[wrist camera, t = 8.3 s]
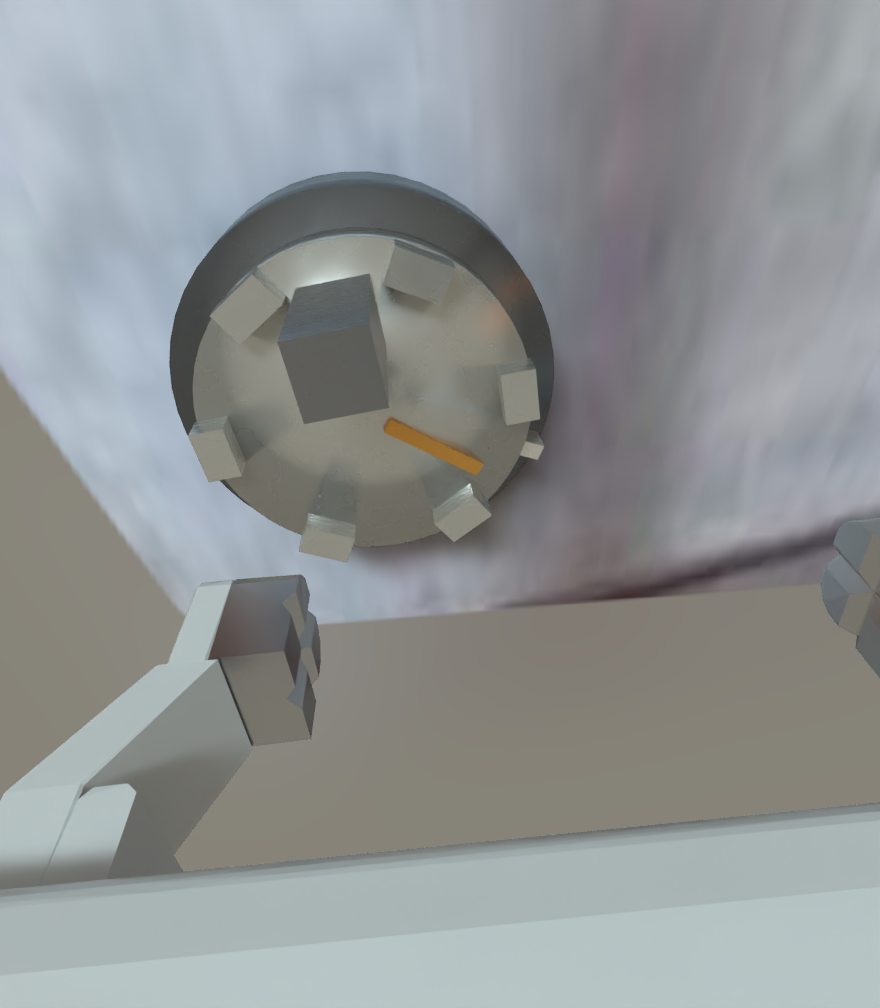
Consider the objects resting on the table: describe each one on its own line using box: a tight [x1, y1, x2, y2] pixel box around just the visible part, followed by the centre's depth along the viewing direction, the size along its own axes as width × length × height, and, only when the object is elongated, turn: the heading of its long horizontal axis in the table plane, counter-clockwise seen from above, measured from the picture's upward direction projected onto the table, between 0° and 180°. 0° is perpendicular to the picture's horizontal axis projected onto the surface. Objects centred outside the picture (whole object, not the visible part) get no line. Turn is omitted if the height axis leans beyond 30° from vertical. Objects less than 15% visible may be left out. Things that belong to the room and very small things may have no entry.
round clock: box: [188, 227, 540, 562], centre depth 27 cm, size 15×15×8 cm
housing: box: [170, 172, 554, 506], centre depth 32 cm, size 18×18×6 cm
